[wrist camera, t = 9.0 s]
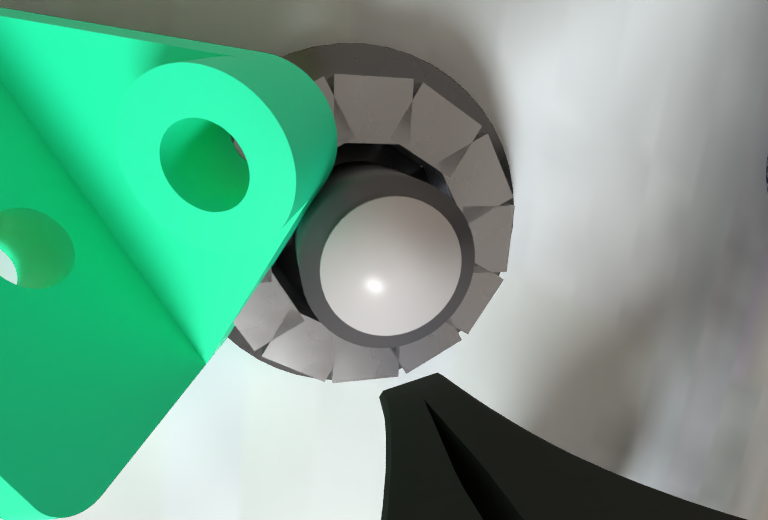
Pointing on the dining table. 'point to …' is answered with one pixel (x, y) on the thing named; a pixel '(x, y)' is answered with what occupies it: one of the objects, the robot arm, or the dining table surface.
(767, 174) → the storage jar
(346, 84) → the grey knurled ring
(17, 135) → the camera mount
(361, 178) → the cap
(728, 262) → the dining table surface
